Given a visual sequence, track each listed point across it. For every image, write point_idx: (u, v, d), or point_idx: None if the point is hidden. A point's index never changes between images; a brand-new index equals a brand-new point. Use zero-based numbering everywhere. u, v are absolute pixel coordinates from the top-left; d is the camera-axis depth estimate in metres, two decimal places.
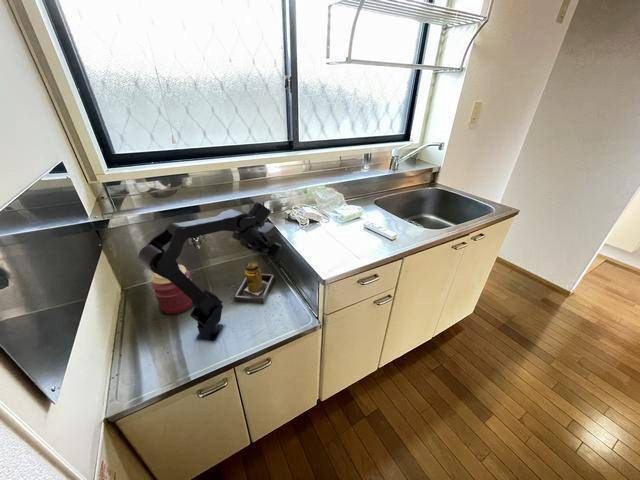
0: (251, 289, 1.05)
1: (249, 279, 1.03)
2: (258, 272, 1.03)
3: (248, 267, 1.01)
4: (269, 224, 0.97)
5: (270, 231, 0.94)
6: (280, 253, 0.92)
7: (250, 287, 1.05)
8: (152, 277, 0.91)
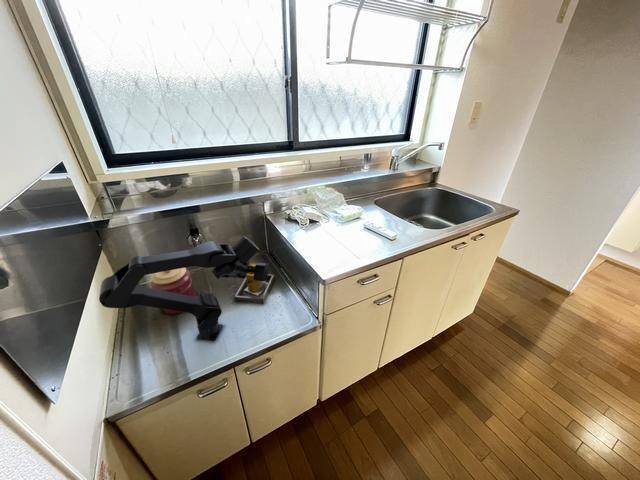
0: (251, 289, 1.05)
1: (249, 279, 1.03)
2: None
3: None
4: None
5: None
6: (267, 272, 0.90)
7: (250, 287, 1.05)
8: (152, 277, 0.91)
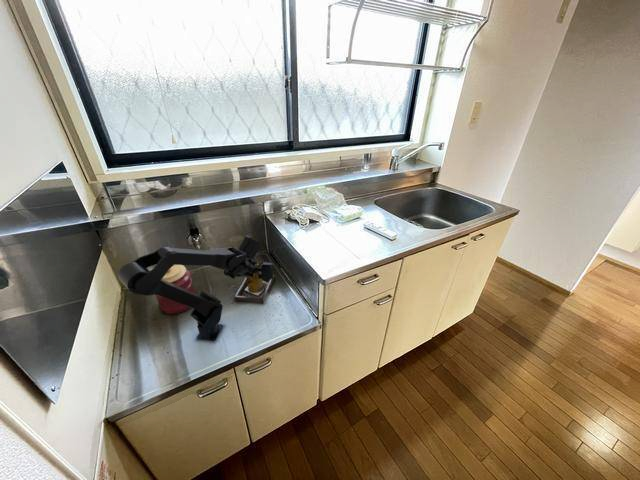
0: (251, 289, 1.05)
1: (249, 279, 1.03)
2: None
3: None
4: None
5: (254, 254, 0.97)
6: (273, 270, 0.99)
7: (250, 287, 1.05)
8: None
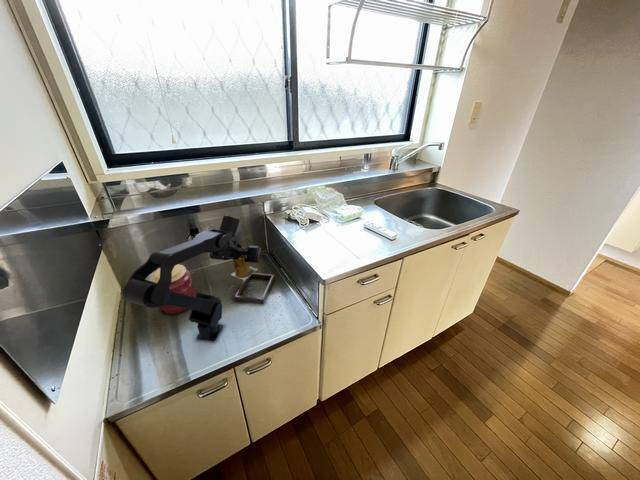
0: (238, 274, 1.04)
1: (236, 263, 1.01)
2: None
3: None
4: None
5: (240, 237, 0.96)
6: (259, 254, 0.97)
7: (237, 272, 1.04)
8: (152, 277, 0.91)
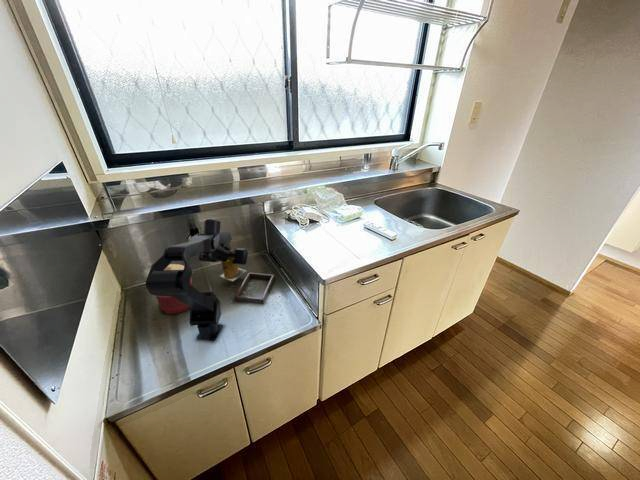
0: (227, 275, 1.08)
1: (224, 265, 1.05)
2: None
3: None
4: (223, 233, 1.01)
5: (228, 239, 1.00)
6: (246, 256, 1.01)
7: (226, 273, 1.07)
8: None
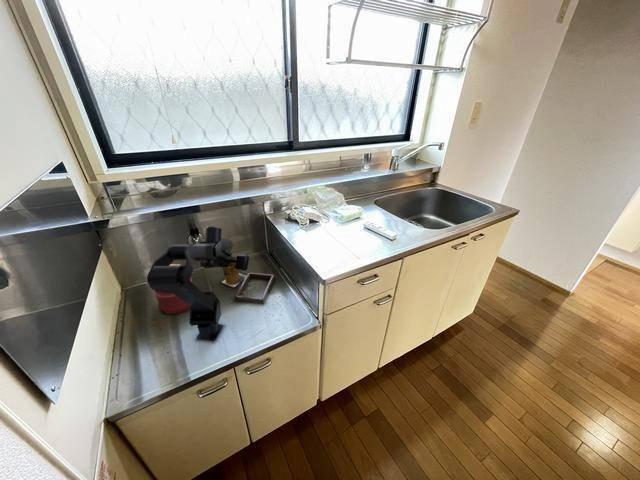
0: (228, 281, 1.09)
1: (225, 271, 1.07)
2: (234, 265, 1.07)
3: None
4: (224, 239, 1.02)
5: (229, 246, 1.01)
6: (247, 262, 1.02)
7: (227, 279, 1.09)
8: None
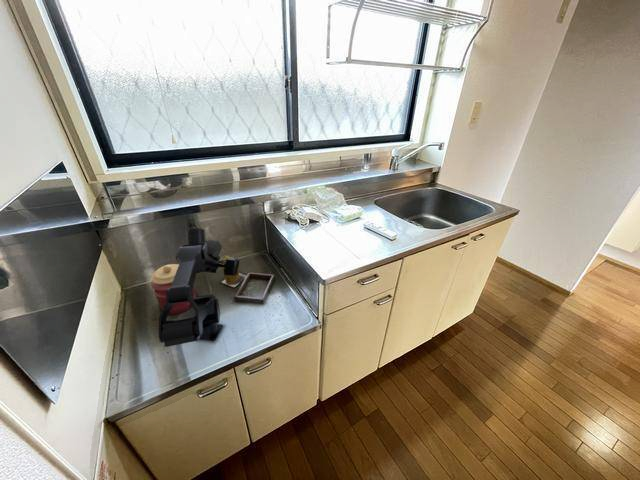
0: (228, 281, 1.09)
1: None
2: None
3: (224, 260, 1.05)
4: (212, 242, 0.93)
5: (217, 249, 0.92)
6: (237, 266, 0.93)
7: (227, 279, 1.09)
8: (152, 277, 0.91)
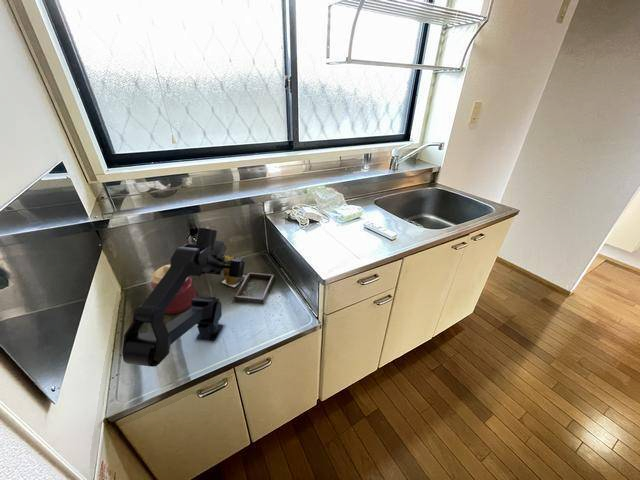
0: (228, 281, 1.09)
1: (225, 271, 1.07)
2: None
3: None
4: (216, 242, 0.89)
5: (222, 250, 0.88)
6: (242, 268, 0.89)
7: (227, 279, 1.09)
8: (152, 277, 0.91)
